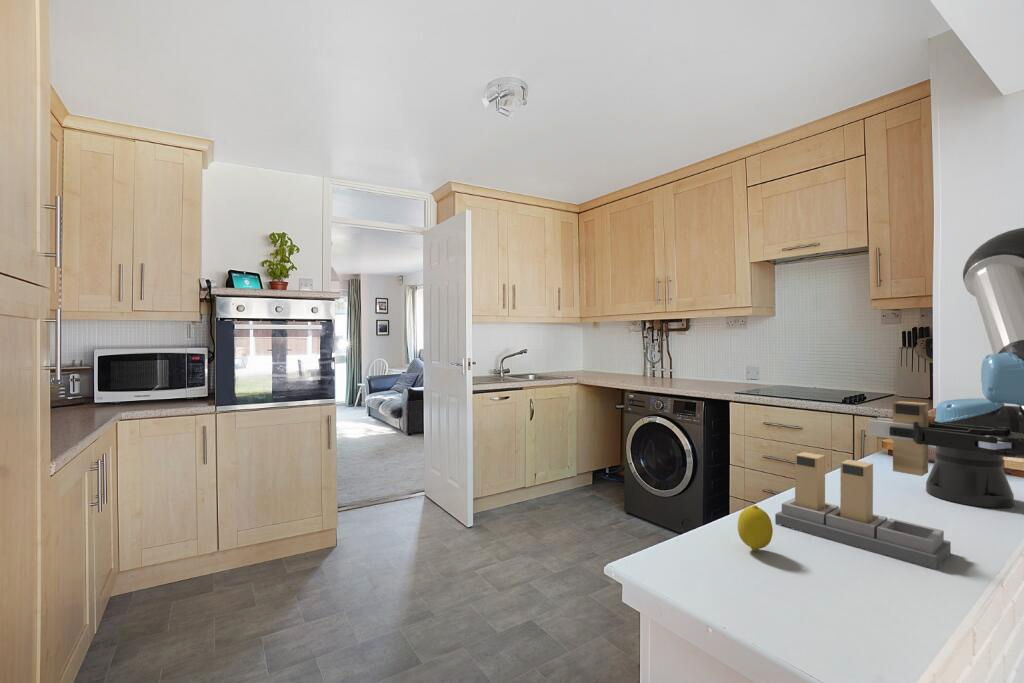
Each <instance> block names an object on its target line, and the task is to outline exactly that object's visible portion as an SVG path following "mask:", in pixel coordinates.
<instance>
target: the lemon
mask: <svg viewBox="0 0 1024 683" xmlns="http://www.w3.org/2000/svg"><path fill="white" fill-rule="evenodd" d="M773 529H774V528H773V524H772V520H771V517H770V516H769V515H768V513H767V512H766V511H765V510H764V509H762V508H761V507H758V505H755V504H753V505H751V506H749V507H746V508H744V509H743V510H742V511H741V512H740V513H739V517H738V520H737V532H738V535H739V538H740V540H741V541H742V543H744V544H745V545H746V546H748V547H749V548H750V549H751V550H752V551H754V552H757V551H758V550H760V549H763V548H765V547H767V546H768V545H769V544H770V543H771V541H772V538H773V531H774V530H773Z"/></svg>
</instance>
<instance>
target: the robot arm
mask: <svg viewBox="0 0 1024 683" xmlns="http://www.w3.org/2000/svg"><path fill="white" fill-rule="evenodd" d="M962 270H963V271H962V280H963V284H964V287H965V289H966V291H967V293H969V294H970V295H971V296H972V297H975V299H976V302H977V306H978V309H979V312H980V315H981V318H982V322H983V325H984V328H985V331H986V334H987V337H988V341H989V344H990V346H991V351H992V353H990V354H987V355H986V356H984V358H983V359H982V362H981V368H980V369H981V370H980V372H981V373H980V381H981V390H982V394H983V396H984V397H983V398H982V397H980V398H979V397H977V398H975V397H974V398H956V399H955V398H954V399H948V400H944V401H942V402H939V403H938V404H937V405H936V409H935V411H936V412H935V419H934V420H933V421H931V422H929V421H928V427H920V426H918V422H914V425H913V424H904V423H894V422H893V418H887V417H878V416H877V417H876V420H874V419H868V421H867V422H868V425H867V426H868V427H867V429H868V430H867V433H868V434H867V435H868V436H871V437H879V438H887V439H893V438H894V439H902V440H909V441H915V443H916V444H920V445H922V444H924V445H928V446H932V447H935V460H934V463H933V465H932V467H931V470H930V472H929V475H928V477H927V479H926V482H925V491H926V493H928V494H929V495H931V496H932V497H935V498H939V499H941V500H945V501H948V502H953V503H957V504H962V505H968V506H969V505H970V506H974V507H980V508H981V507H983V508H995V509H996V508H998V509H999V508H1000V509H1002V508H1004V509H1005V508H1006V509H1007V508H1011V507H1014V504H1015V503H1014V502H1015V499H1014V498H1015V497H1014V496H1015V495H1014V493H1013V490H1012V488H1011V486H1010V483H1009V481H1008V477H1007V475H1006V473H1005V471H1004V458H1014V459H1024V227H1020V228H1019V227H1018V228H1016V229H1011V230H1008V231H1005V232H1003V233H1000V234H997V235H996V236H993V237H991V238H990V239H988V240H987V241H985V242H984V243H982V244H981V245H980V246H979V247H977V249H975V250H974V251H973V253H971V254H970V256H969V258H967V260H966V262H965V265H964V267H963V269H962ZM1005 404H1009V405H1005Z"/></svg>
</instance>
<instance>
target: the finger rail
mask: <svg viewBox="0 0 1024 683" xmlns="http://www.w3.org/2000/svg"><path fill="white" fill-rule="evenodd" d="M794 457H795V458H794V462H795V463H794V475H795V476H794V478H795V479H794V497H793V498H791V499H789V500H787V501H785V502H782V503H781V511H779V512H777V513H775V516H774V517H775V518H774V519H775V521H774V522H775V523H777V524H776V525H778V524H781V525H784V526H783V527H785V526H787V527H786V528H788V527H791V528H790V529H792V528H794V529H793V530H795V529H797V530H796V531H799V530H801V531H800V532H802V531H804V533H806V532H807V534H809V533H811V534H810V535H813V534H814V536H816V535H818V536H817V537H820V536H821V538H823V537H825V538H824V539H827V538H828V540H830V539H831V541H834V542H838V543H841V544H845V545H848V546H852V547H856V548H859V549H863V550H867V551H870V552H873V553H877V554H880V555H884V556H886V555H887V556H886V557H890V558H893V559H897V560H900V561H905V562H908V563H911V564H915V565H918V566H922V567H926V568H929V569H932V570H935V571H936V570H937V569H938V568H939V567H940V566H941V565H942V563H943V562H945V560H946V559H947V558H946V557H947V556H948V557H949V556H950V554H951V551H952V550H951V549H952V547H951V543H952V542H951V541H950V540H945V539H944V538H945V536H944V535H945V534H944V531H945V530H942V529H937V528H934V527H930V526H927V525H921V524H918V523H913V522H908V521H905V520H900V519H897V518H892V517H890V518H888V517H887V516H884V515H879V514H875V513H874V512H873V511H874V463H871V462H865V461H859V460H853V459H846V460H843V461H841V462H840V497H839V498H840V504H839V505H840V507H839V505H836V504H832V503H827V502H826V455H825V454H824V455H822V454H818V453H813V452H806V451H803V452H800V453H795V455H794ZM775 523H774V524H775ZM781 525H780V526H781ZM940 564H941V565H940Z"/></svg>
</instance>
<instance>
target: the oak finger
mask: <svg viewBox="0 0 1024 683" xmlns="http://www.w3.org/2000/svg"><path fill="white" fill-rule="evenodd" d="M892 419H893V422H894V423H904V424H913V425H914V422H918V426H920V427H928V422H929V403H927V402H915V401H901V400H900V401H895V402H893V403H892ZM892 471H893V472H896V473H901V474H906V475H907V474H908V475H913V476H918V477H923V476H924V475H926V474H928V473H929V445H924V444H922V445H920V444H916V443H915V441H909V440H902V439H894V438H892Z"/></svg>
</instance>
